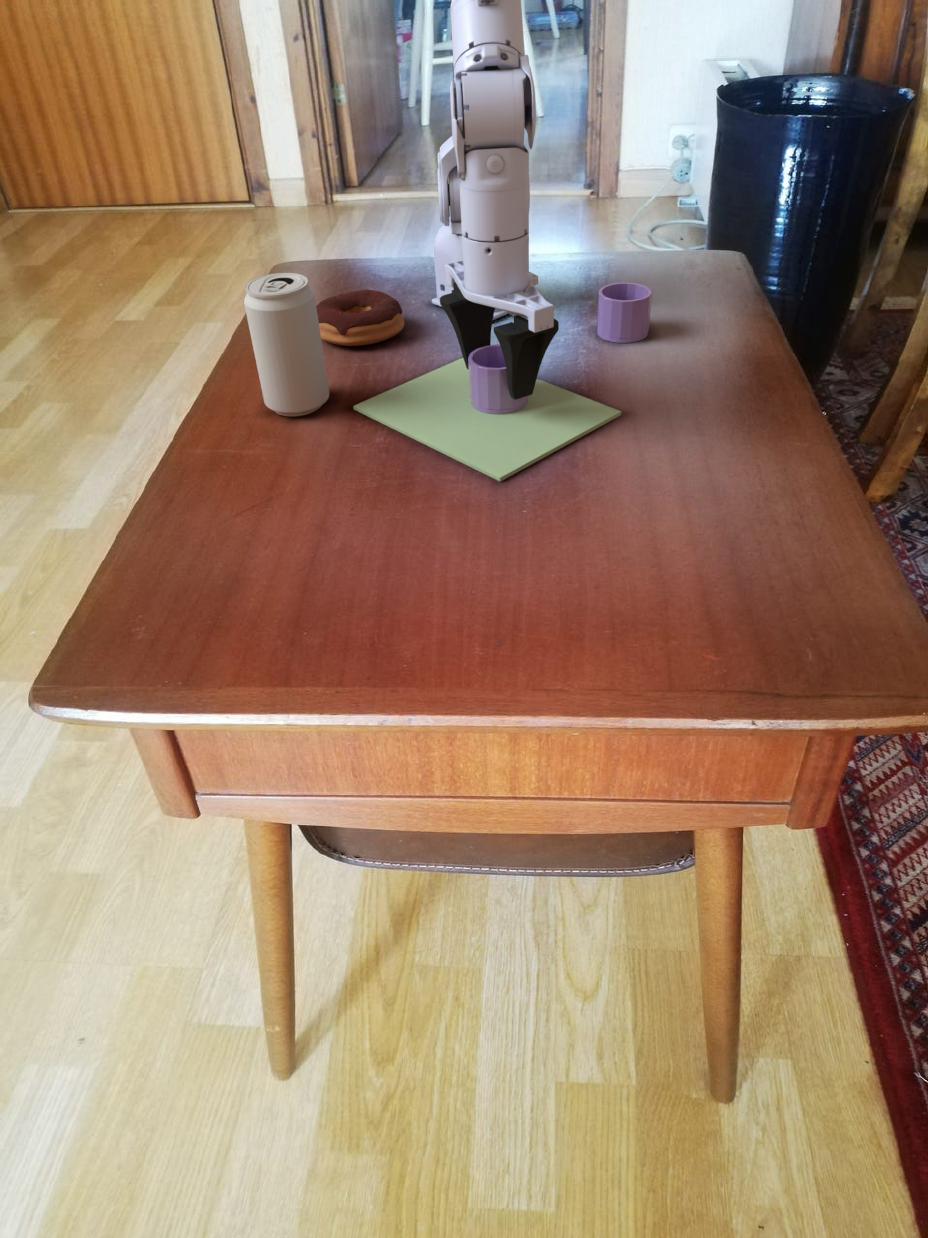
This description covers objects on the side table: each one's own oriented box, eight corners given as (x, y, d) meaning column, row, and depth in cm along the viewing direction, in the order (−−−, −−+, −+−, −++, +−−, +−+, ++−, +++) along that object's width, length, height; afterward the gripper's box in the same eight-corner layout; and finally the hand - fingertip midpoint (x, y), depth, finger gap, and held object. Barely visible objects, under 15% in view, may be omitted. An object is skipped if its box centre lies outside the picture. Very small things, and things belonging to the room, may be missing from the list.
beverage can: (341, 393, 92) (324, 272, 85) (312, 423, 88) (291, 297, 80) (284, 387, 94) (262, 267, 86) (253, 415, 89) (227, 292, 82)
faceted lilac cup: (586, 333, 101) (588, 292, 98) (618, 318, 104) (621, 278, 101) (626, 347, 98) (629, 305, 95) (658, 331, 100) (662, 290, 98)
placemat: (353, 409, 89) (353, 405, 89) (472, 356, 98) (472, 353, 97) (500, 481, 78) (499, 477, 78) (621, 415, 86) (621, 411, 86)
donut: (400, 313, 108) (397, 278, 105) (409, 346, 100) (406, 310, 98) (314, 322, 107) (308, 287, 105) (316, 356, 100) (311, 320, 97)
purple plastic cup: (475, 387, 91) (474, 343, 88) (531, 389, 90) (531, 345, 87) (466, 413, 87) (463, 368, 84) (524, 415, 86) (523, 370, 83)
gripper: (585, 242, 75) (579, 397, 84) (488, 203, 85) (492, 345, 94) (513, 261, 73) (515, 419, 81) (422, 218, 82) (432, 363, 91)
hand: (498, 381), depth 87 cm, fingers open, 7 cm apart
